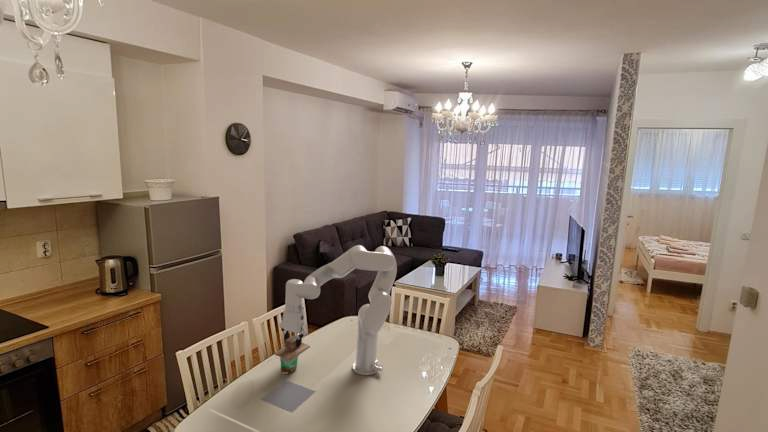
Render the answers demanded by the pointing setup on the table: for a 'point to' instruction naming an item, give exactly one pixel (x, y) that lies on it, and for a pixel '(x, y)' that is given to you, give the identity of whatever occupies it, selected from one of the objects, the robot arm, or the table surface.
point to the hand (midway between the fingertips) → (292, 343)
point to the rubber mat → (288, 396)
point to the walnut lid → (291, 349)
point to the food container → (288, 365)
